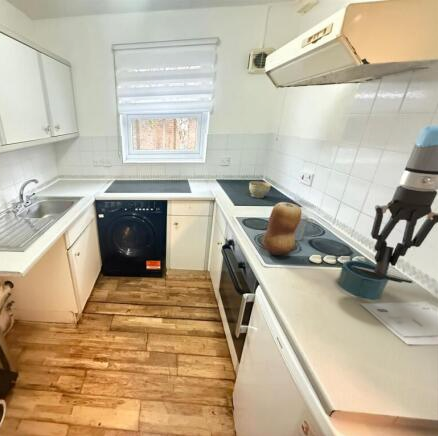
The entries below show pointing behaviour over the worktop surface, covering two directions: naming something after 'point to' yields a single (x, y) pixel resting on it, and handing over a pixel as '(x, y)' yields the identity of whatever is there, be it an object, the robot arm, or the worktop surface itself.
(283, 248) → the butternut squash
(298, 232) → the clear glass cylinder
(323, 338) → the worktop surface
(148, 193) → the worktop surface
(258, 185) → the planter bowl
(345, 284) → the pot
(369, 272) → the lid
